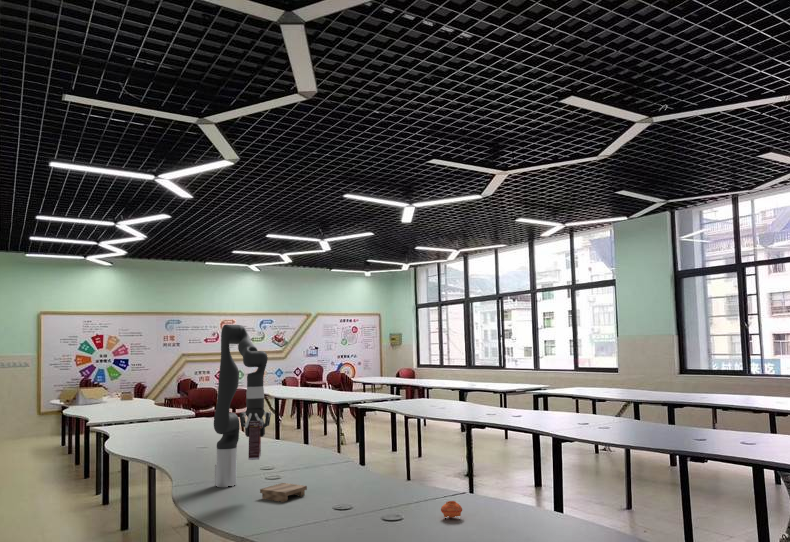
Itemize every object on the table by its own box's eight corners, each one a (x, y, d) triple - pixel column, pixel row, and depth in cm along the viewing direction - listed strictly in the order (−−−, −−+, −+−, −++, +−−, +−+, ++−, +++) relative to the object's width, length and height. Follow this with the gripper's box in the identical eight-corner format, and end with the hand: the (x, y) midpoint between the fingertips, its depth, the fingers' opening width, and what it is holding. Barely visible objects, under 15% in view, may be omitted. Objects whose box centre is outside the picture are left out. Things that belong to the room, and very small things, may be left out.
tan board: (260, 498, 265) (260, 489, 266) (282, 492, 277) (282, 482, 278) (285, 502, 258) (285, 492, 259) (306, 495, 270) (306, 485, 270)
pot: (452, 522, 223) (448, 502, 225) (439, 523, 229) (435, 504, 231) (468, 517, 228) (464, 498, 230) (455, 518, 234) (451, 499, 236)
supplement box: (259, 459, 264) (259, 421, 266) (248, 460, 264) (248, 421, 266) (261, 456, 273) (261, 419, 275) (250, 456, 272) (250, 419, 274)
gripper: (236, 397, 269) (235, 437, 267) (267, 397, 267) (267, 438, 264) (243, 396, 277) (243, 435, 275) (274, 396, 274) (274, 435, 272)
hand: (255, 436), depth 269 cm, fingers closed on supplement box, 5 cm apart
